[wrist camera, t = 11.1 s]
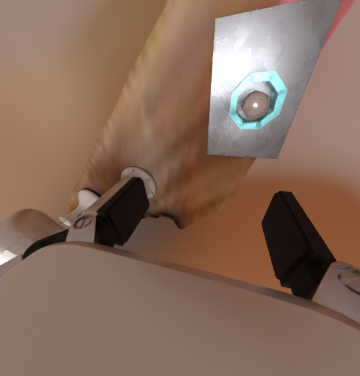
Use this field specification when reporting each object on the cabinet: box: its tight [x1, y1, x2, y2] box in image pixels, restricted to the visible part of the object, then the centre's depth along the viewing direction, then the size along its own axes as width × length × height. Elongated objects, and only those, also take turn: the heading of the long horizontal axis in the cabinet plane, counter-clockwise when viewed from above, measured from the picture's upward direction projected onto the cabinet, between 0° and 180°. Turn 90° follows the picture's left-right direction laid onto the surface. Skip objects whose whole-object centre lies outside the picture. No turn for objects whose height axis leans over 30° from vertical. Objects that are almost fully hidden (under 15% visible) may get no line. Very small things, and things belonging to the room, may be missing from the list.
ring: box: [229, 71, 288, 129], centre depth 21 cm, size 7×7×4 cm
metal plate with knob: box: [207, 0, 342, 159], centre depth 21 cm, size 20×14×7 cm
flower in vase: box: [59, 190, 99, 226], centre depth 50 cm, size 13×11×25 cm
